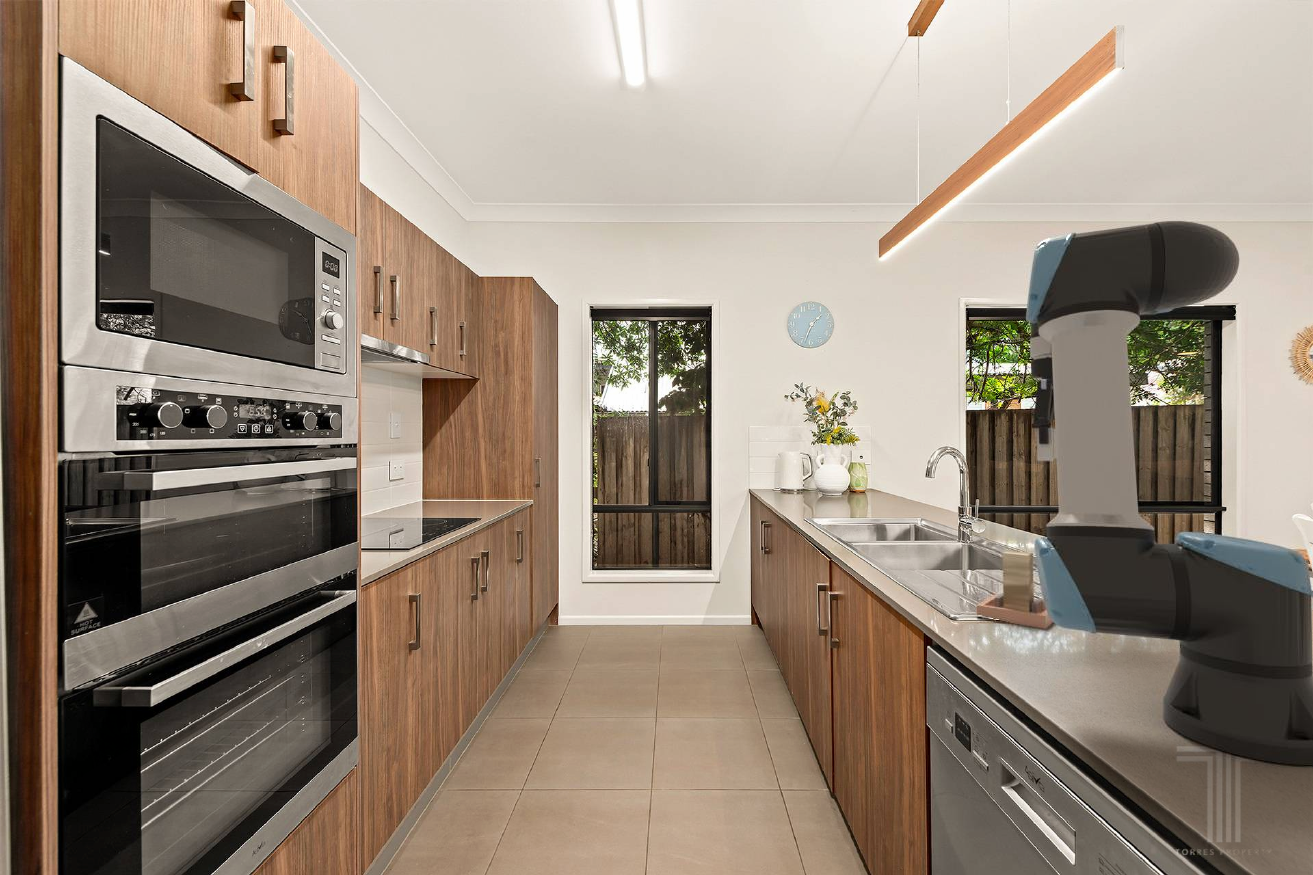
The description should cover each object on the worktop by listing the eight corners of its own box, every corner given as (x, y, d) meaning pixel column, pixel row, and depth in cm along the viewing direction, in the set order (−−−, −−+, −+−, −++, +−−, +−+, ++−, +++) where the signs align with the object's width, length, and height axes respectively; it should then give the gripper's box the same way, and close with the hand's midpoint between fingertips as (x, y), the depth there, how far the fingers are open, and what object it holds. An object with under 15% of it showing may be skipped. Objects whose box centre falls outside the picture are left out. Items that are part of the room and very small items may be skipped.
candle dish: (1045, 628, 118) (1045, 609, 118) (976, 617, 126) (976, 599, 126) (1061, 615, 127) (1061, 597, 127) (996, 605, 135) (995, 588, 135)
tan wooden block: (1029, 617, 124) (1027, 555, 124) (1003, 613, 127) (1002, 552, 127) (1034, 613, 126) (1032, 552, 126) (1009, 609, 129) (1007, 550, 129)
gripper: (1057, 350, 121) (1060, 462, 121) (1085, 360, 139) (1088, 457, 139) (1013, 354, 126) (1016, 461, 126) (1046, 364, 144) (1048, 457, 144)
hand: (1053, 459), depth 133 cm, fingers open, 13 cm apart
